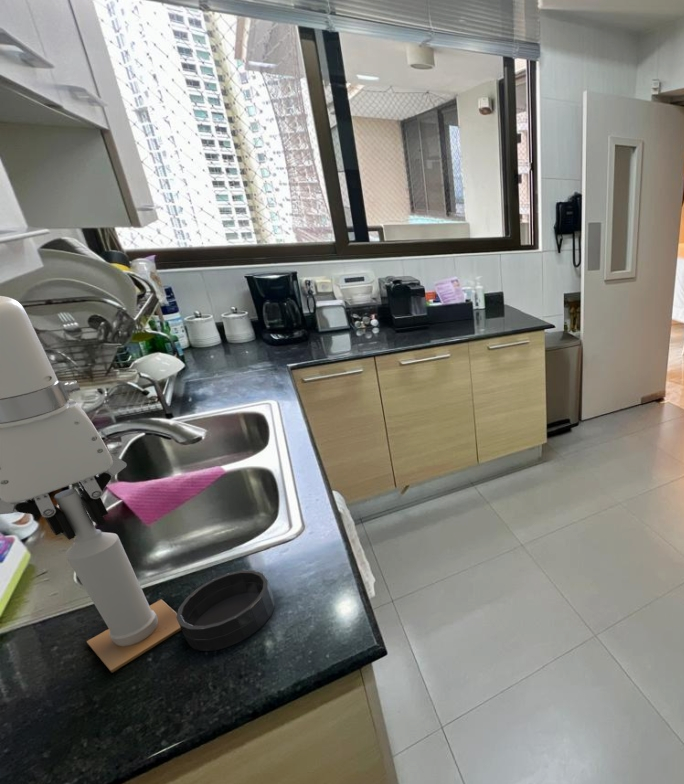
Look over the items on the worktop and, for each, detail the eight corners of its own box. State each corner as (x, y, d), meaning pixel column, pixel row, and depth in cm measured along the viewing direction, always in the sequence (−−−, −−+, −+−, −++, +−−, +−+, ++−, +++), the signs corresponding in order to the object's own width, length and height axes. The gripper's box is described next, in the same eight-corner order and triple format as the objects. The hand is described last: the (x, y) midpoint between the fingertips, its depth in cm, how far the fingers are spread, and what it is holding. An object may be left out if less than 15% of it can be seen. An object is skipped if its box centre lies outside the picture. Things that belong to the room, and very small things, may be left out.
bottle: (105, 640, 68) (26, 500, 58) (147, 613, 73) (80, 478, 63) (126, 652, 67) (48, 509, 57) (167, 624, 71) (102, 487, 61)
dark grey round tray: (172, 630, 71) (161, 608, 69) (252, 580, 80) (244, 560, 78) (208, 665, 66) (198, 642, 64) (289, 608, 75) (282, 587, 73)
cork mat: (87, 643, 68) (86, 641, 68) (162, 601, 76) (161, 599, 75) (112, 673, 64) (110, 670, 64) (188, 625, 71) (187, 622, 71)
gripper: (97, 376, 63) (147, 489, 70) (-102, 422, 50) (-16, 555, 57) (120, 387, 60) (170, 505, 67) (-87, 439, 47) (2, 578, 54)
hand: (83, 527), depth 62 cm, fingers closed
